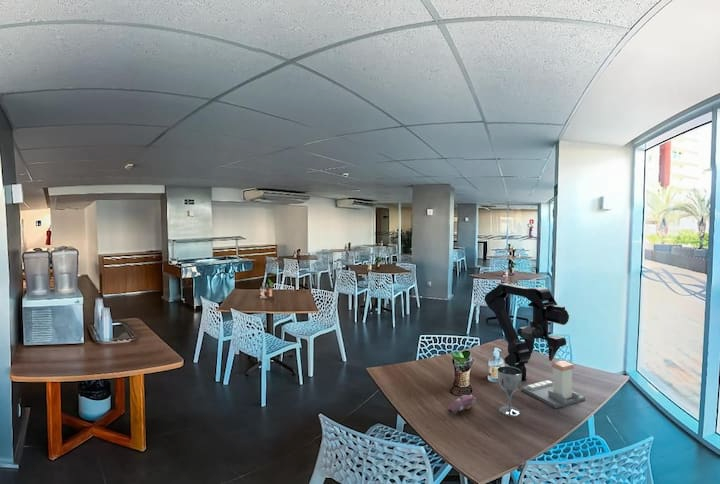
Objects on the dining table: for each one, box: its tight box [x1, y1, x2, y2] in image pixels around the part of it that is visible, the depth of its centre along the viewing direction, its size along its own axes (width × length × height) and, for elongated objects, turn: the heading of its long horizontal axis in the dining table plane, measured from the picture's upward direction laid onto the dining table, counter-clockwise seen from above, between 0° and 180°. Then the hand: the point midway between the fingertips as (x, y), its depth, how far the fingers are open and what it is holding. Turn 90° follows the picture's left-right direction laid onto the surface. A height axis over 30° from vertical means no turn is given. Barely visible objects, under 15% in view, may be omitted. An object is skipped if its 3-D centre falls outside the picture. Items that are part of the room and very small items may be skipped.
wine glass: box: [496, 365, 522, 417], centre depth 129 cm, size 8×8×15 cm
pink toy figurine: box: [447, 393, 478, 412], centre depth 131 cm, size 10×5×7 cm, turn 118°
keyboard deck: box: [520, 379, 586, 409], centre depth 140 cm, size 16×15×3 cm
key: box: [551, 360, 574, 399], centre depth 136 cm, size 5×6×12 cm
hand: (540, 356), depth 146 cm, fingers open, 9 cm apart
